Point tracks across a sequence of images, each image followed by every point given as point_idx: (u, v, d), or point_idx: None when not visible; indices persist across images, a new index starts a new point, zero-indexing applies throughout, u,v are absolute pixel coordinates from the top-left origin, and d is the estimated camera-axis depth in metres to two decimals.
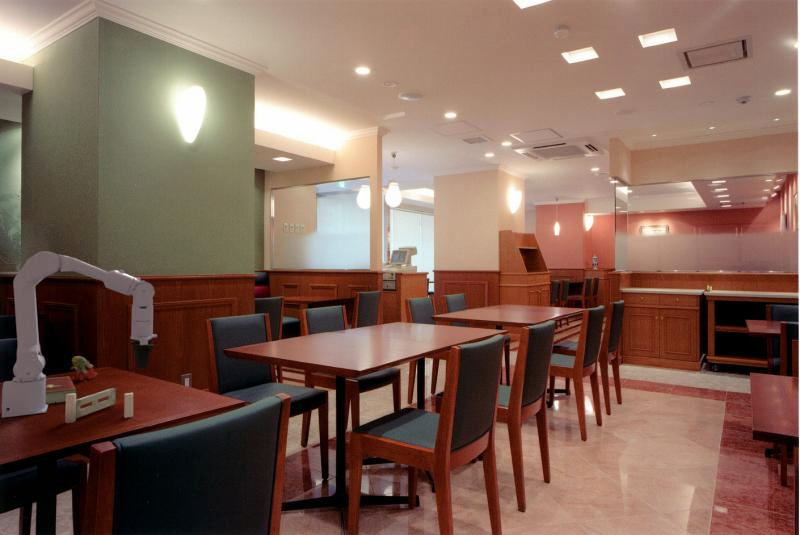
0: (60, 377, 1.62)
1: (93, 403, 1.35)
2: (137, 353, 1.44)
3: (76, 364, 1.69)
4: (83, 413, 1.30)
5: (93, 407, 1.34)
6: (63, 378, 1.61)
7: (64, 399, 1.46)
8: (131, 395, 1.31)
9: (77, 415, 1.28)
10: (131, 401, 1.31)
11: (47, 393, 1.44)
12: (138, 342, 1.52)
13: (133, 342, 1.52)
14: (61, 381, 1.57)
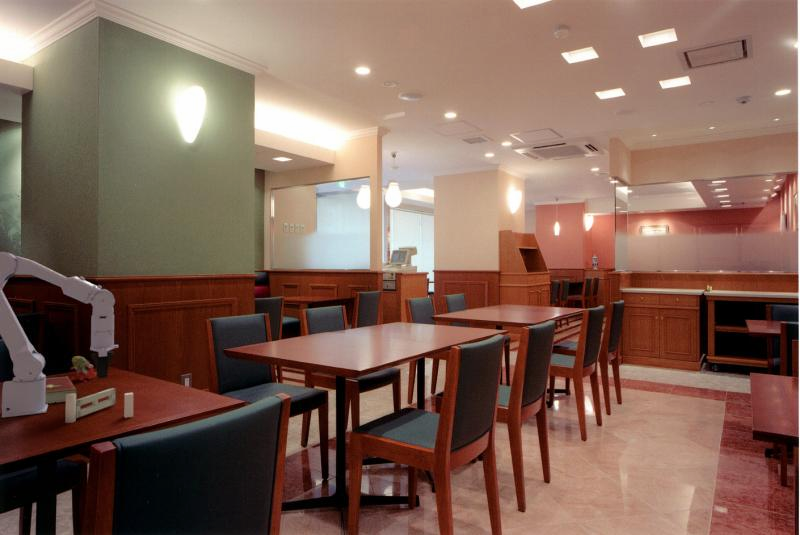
0: (59, 377, 1.62)
1: (93, 403, 1.35)
2: (96, 363, 1.42)
3: (76, 364, 1.69)
4: (83, 413, 1.30)
5: (93, 407, 1.34)
6: (62, 378, 1.61)
7: (64, 399, 1.46)
8: (131, 395, 1.31)
9: (77, 415, 1.28)
10: (131, 401, 1.31)
11: (47, 393, 1.44)
12: None
13: None
14: (60, 381, 1.56)
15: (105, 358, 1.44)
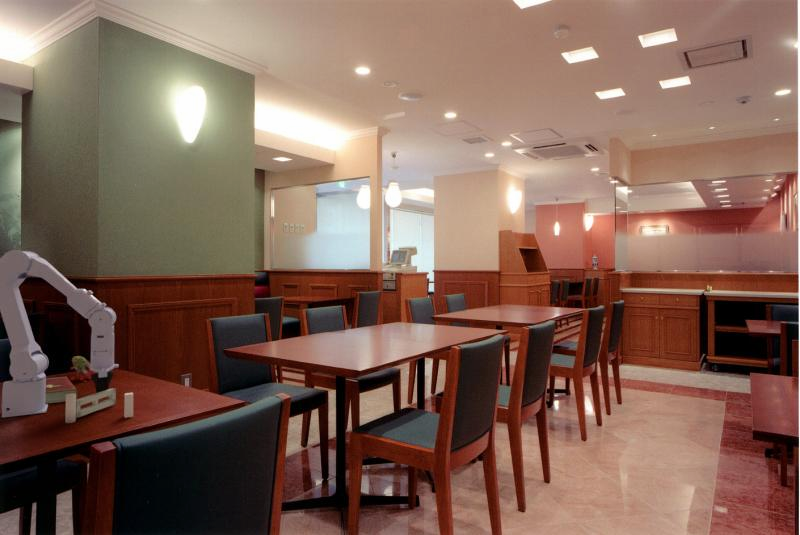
0: None
1: (93, 403, 1.35)
2: (96, 383, 1.39)
3: (76, 364, 1.69)
4: (83, 413, 1.30)
5: (93, 407, 1.34)
6: (61, 378, 1.61)
7: (65, 399, 1.46)
8: (131, 395, 1.31)
9: (77, 415, 1.28)
10: (131, 401, 1.31)
11: (48, 393, 1.44)
12: None
13: None
14: (59, 381, 1.56)
15: (105, 378, 1.41)
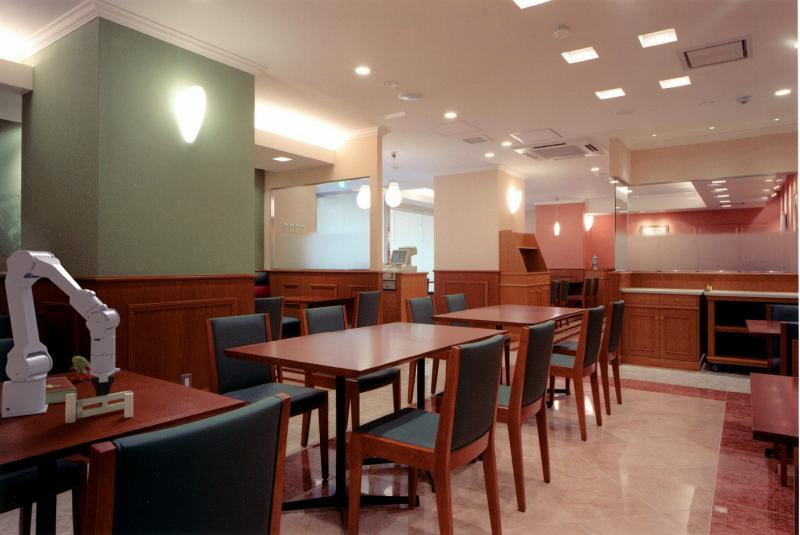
0: None
1: (102, 404, 1.33)
2: (96, 388, 1.33)
3: (76, 364, 1.69)
4: (86, 414, 1.29)
5: (100, 409, 1.32)
6: (60, 378, 1.60)
7: (65, 399, 1.46)
8: (131, 395, 1.31)
9: (78, 416, 1.28)
10: (131, 401, 1.31)
11: (48, 393, 1.44)
12: None
13: None
14: (59, 381, 1.56)
15: (106, 382, 1.35)
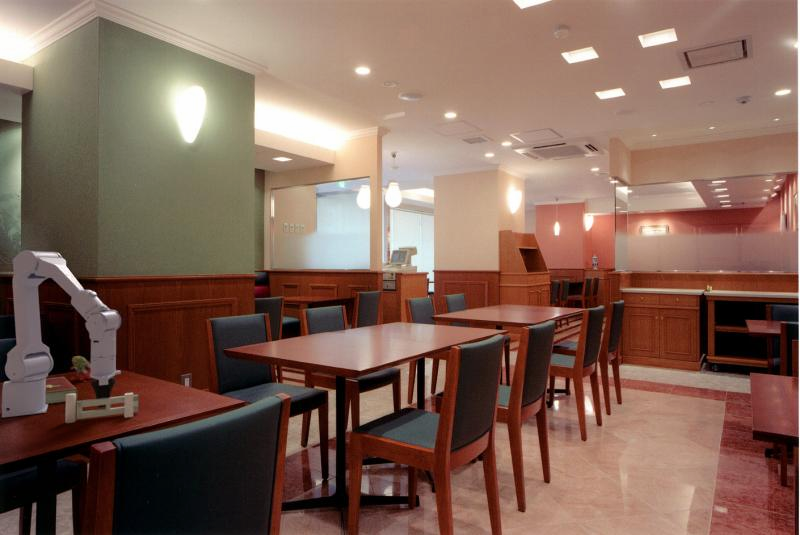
0: None
1: (106, 407, 1.31)
2: (96, 391, 1.30)
3: (76, 364, 1.69)
4: (86, 415, 1.28)
5: (102, 411, 1.30)
6: (59, 378, 1.60)
7: (65, 399, 1.46)
8: (131, 395, 1.31)
9: (77, 416, 1.27)
10: (131, 401, 1.31)
11: (48, 393, 1.44)
12: None
13: None
14: (58, 381, 1.56)
15: (106, 385, 1.32)
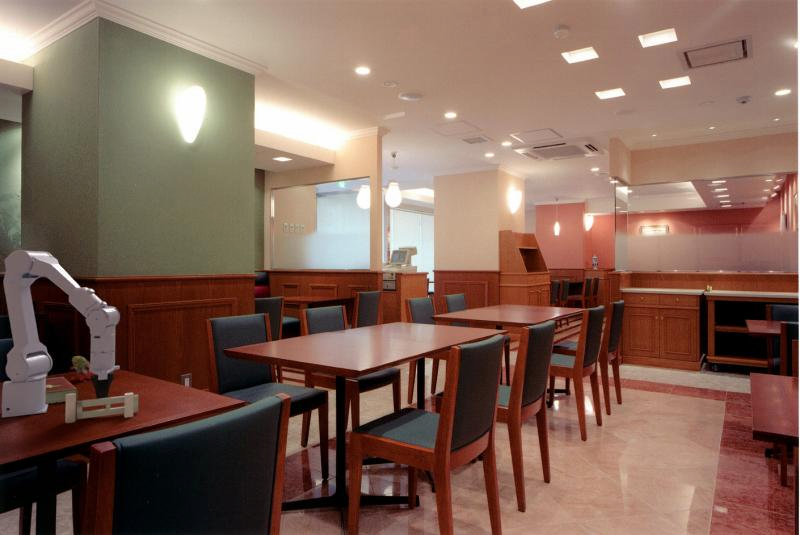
0: (54, 378, 1.61)
1: (106, 407, 1.31)
2: (95, 386, 1.33)
3: (76, 364, 1.69)
4: (86, 415, 1.28)
5: (102, 411, 1.30)
6: (58, 378, 1.60)
7: (65, 399, 1.46)
8: (131, 395, 1.31)
9: (77, 416, 1.27)
10: (131, 401, 1.31)
11: (48, 393, 1.44)
12: None
13: None
14: (57, 381, 1.56)
15: (105, 380, 1.35)
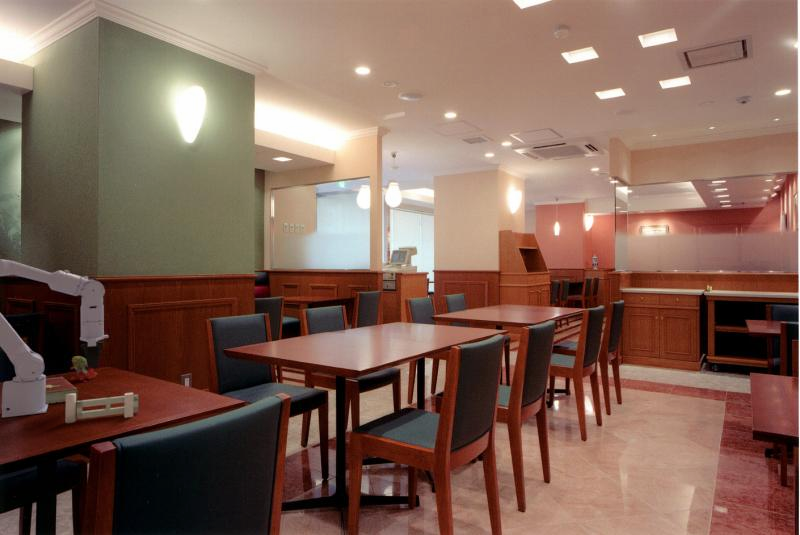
0: (53, 378, 1.61)
1: (106, 407, 1.31)
2: (86, 353, 1.42)
3: (76, 364, 1.69)
4: (86, 415, 1.28)
5: (102, 411, 1.30)
6: (57, 379, 1.60)
7: (65, 399, 1.46)
8: (131, 395, 1.31)
9: (77, 416, 1.27)
10: (131, 401, 1.31)
11: (49, 393, 1.44)
12: None
13: None
14: (57, 381, 1.56)
15: (95, 348, 1.44)
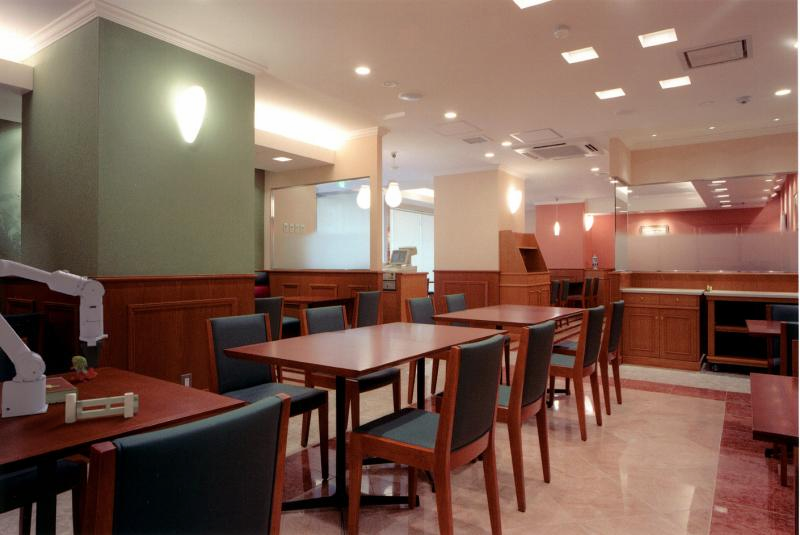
0: (52, 378, 1.61)
1: (106, 407, 1.31)
2: (85, 353, 1.42)
3: (76, 364, 1.69)
4: (86, 415, 1.28)
5: (102, 411, 1.30)
6: (56, 379, 1.60)
7: (65, 399, 1.47)
8: (131, 395, 1.31)
9: (77, 416, 1.27)
10: (131, 401, 1.31)
11: (49, 393, 1.44)
12: None
13: None
14: (56, 381, 1.56)
15: (94, 348, 1.44)
